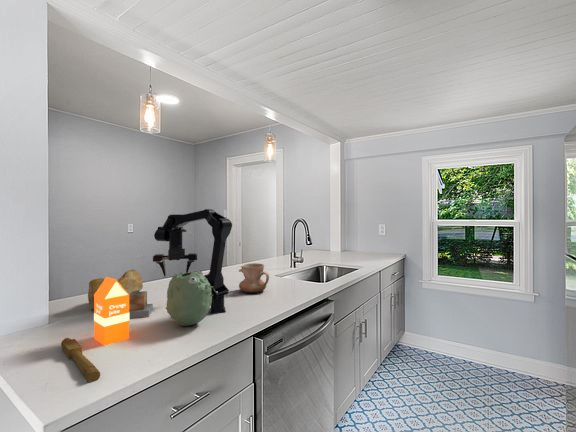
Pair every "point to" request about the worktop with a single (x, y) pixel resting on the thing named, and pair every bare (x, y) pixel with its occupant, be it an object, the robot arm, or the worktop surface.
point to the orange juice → (111, 313)
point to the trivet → (141, 312)
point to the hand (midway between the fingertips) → (175, 276)
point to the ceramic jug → (253, 278)
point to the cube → (137, 300)
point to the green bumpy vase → (188, 298)
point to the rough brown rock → (128, 281)
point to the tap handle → (80, 359)
